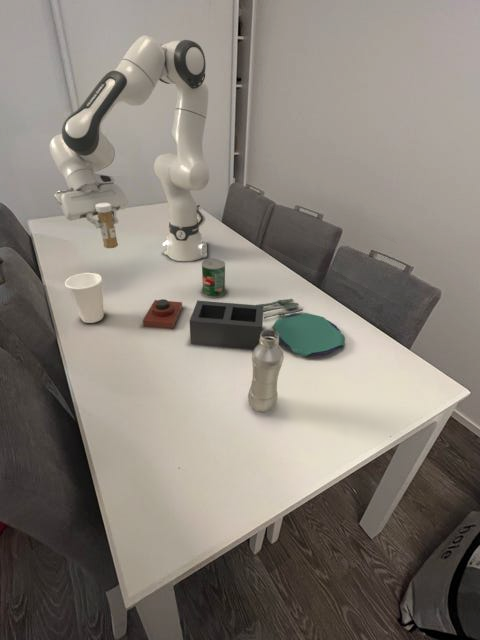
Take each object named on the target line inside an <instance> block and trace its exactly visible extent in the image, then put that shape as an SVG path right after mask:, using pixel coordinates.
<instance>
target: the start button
mask: <svg viewBox="0 0 480 640" xmlns="http://www.w3.org/2000/svg"><path fill="white" fill-rule="evenodd" d="M157 300H158V301H157V302H156V305H157V309H159V310H164V309H167V308H169V304H168V301H169V300H167V299H164V298H163V299H162V298H161V299H157Z"/></svg>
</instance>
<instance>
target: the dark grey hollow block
mask: <svg viewBox="0 0 480 640" xmlns="http://www.w3.org/2000/svg"><path fill="white" fill-rule="evenodd" d="M264 308H265V306H259V304H246V303H245V304H244V303H235V302H220V301H211V300H210V301H209V300H199V299H198V300H196V303H195V306H194V308H193V310H192V313H191V316H190V319H189V337H190V339H189V340H190V345H194V346H195V345H196V346H208V347H217V348H230V349H239V350H243V349H244V350H252V351H253V350H254V348H255V347H256V346H257V345H258V344H259V343H260V342H259V340H260V334H261V332H262V331H263V326H264V325H263V324H264V312H263V310H264Z"/></svg>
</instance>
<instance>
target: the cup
mask: <svg viewBox="0 0 480 640" xmlns="http://www.w3.org/2000/svg"><path fill="white" fill-rule="evenodd" d="M103 281H104V280H103V277H102V276H101V275H100V274H98V273H95V272H82V273H77V274H74V275H71V276H69V277H68V278H67V279H66V280H65V281H64V286H65V289H66V291H67V292H68V294H69V296H70V298H71V300H72V302H73V304H74V306H75V308H76V311H77V312H78V315H79V317H80V319H81V321H82V322H83V323H87V324H95V323H97V322H99V321H102V319H103V318H104V294H103V293H104V292H103V291H104V290H103V285H104V283H103Z"/></svg>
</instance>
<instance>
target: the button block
mask: <svg viewBox="0 0 480 640" xmlns="http://www.w3.org/2000/svg"><path fill="white" fill-rule="evenodd" d="M158 300H159V299H154V301H153V302H152V304H151V305H150V307H149V309H148V311H147V313H146V314H145V316H144V318H143V319H142V325H143V327H145V328H157V329H167V330H168V329H169V330H173V329H174V328H175V326H176V324H177V321H178V319H179V316H180V314H181V312H182V310H183V302H182V301H174V300H173V301H172V300H167V301H168V304H169V308H167V309H164V310H159V309H157V305H156V302H157V301H158Z"/></svg>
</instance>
